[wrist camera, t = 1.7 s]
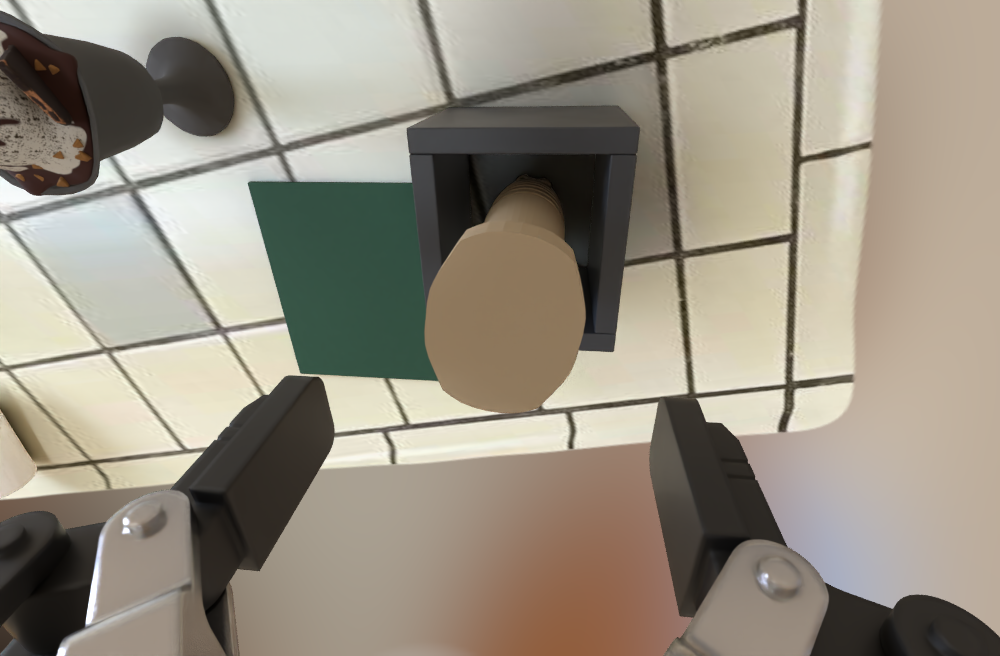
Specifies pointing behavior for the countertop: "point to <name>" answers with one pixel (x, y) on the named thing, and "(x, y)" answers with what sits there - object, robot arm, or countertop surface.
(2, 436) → the white tapered piece
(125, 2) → the countertop surface
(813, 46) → the countertop surface
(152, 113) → the sundae
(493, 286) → the handle
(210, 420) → the countertop surface
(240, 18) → the countertop surface
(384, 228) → the mat
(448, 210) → the grey box
